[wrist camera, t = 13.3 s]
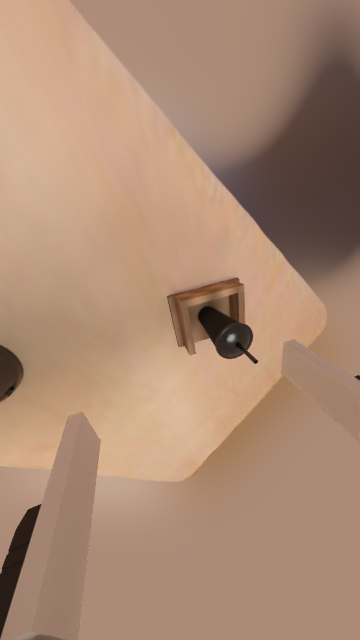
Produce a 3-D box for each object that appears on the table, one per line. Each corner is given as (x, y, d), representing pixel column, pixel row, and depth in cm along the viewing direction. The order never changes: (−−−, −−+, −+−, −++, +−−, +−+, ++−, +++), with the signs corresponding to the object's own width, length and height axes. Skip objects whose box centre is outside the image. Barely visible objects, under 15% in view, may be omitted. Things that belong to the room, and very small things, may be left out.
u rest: (178, 345, 50) (184, 357, 45) (167, 296, 44) (172, 304, 39) (239, 326, 53) (250, 335, 48) (237, 277, 46) (250, 282, 42)
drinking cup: (221, 324, 50) (275, 373, 32) (194, 332, 48) (234, 387, 31) (219, 297, 46) (278, 334, 29) (190, 304, 45) (233, 349, 27)
